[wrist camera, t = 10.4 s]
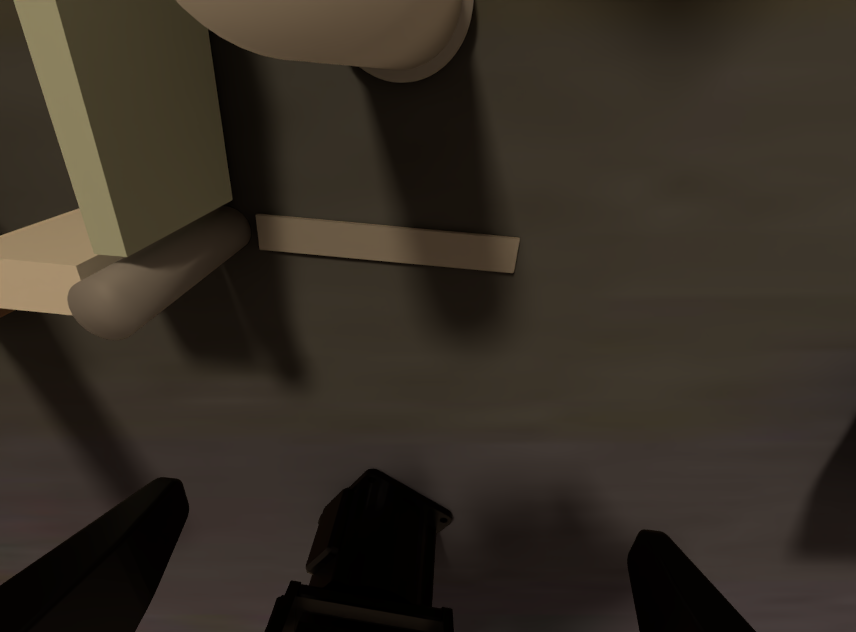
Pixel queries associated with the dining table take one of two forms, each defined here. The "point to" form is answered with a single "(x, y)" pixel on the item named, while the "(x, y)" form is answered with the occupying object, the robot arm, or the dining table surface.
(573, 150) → the dining table surface
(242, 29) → the beige dome-topped cylinder
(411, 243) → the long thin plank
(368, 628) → the robot arm
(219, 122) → the beige flat block
